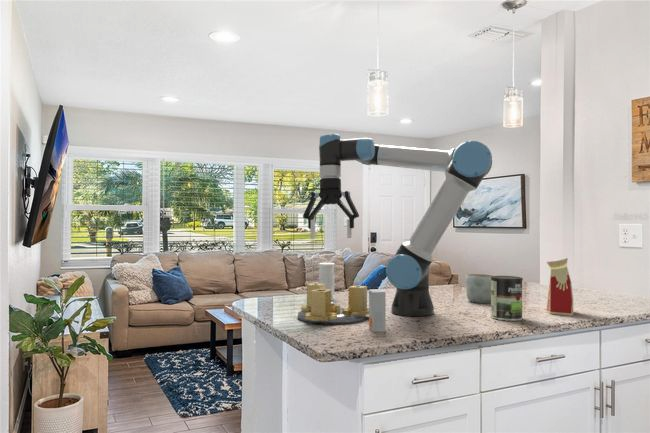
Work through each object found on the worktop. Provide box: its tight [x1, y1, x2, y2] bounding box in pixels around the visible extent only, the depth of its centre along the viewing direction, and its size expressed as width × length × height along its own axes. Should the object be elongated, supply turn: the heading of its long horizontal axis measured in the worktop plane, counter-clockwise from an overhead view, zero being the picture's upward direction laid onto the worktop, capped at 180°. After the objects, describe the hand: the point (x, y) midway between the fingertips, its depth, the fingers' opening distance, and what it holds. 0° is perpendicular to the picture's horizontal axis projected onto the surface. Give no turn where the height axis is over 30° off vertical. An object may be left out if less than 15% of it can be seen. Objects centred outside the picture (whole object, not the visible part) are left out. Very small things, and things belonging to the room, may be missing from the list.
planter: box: [465, 273, 497, 304], centre depth 213 cm, size 12×12×11 cm
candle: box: [318, 262, 336, 301], centre depth 219 cm, size 7×7×15 cm
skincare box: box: [368, 288, 387, 333], centre depth 158 cm, size 6×4×12 cm
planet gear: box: [305, 289, 337, 321], centre depth 169 cm, size 11×11×9 cm
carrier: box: [297, 282, 369, 326], centre depth 177 cm, size 27×23×11 cm
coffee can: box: [490, 275, 524, 322], centre depth 177 cm, size 10×10×14 cm
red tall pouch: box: [545, 257, 574, 316], centre depth 188 cm, size 9×9×20 cm
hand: (331, 238), depth 184 cm, fingers open, 13 cm apart
